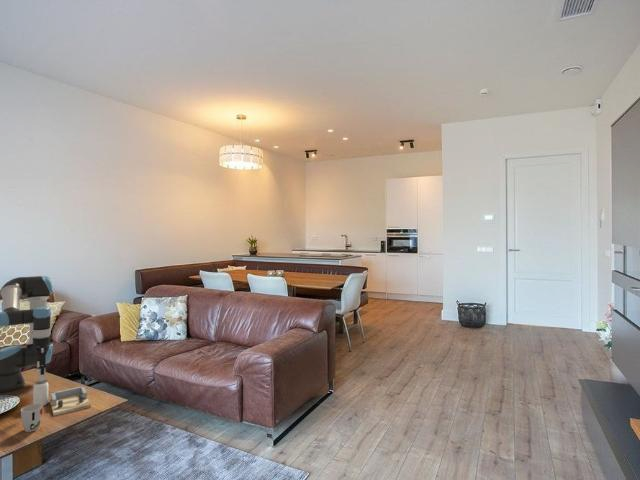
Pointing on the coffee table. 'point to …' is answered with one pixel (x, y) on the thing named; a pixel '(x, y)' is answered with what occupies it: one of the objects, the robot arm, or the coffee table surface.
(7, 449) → the coffee table surface
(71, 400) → the base plate
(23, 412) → the cup
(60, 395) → the grey frame
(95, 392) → the coffee table surface
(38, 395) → the can
